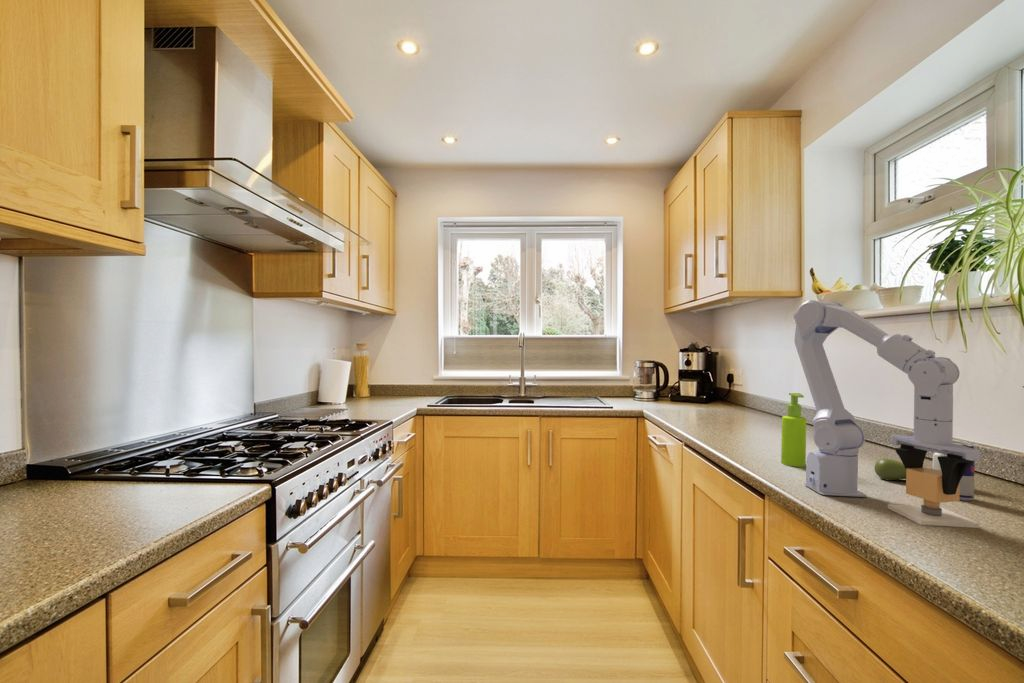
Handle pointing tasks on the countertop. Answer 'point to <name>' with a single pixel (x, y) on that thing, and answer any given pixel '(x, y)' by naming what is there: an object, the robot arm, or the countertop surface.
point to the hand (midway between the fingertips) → (931, 489)
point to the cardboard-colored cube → (928, 485)
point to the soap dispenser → (794, 434)
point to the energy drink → (966, 479)
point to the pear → (890, 469)
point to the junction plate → (933, 515)
